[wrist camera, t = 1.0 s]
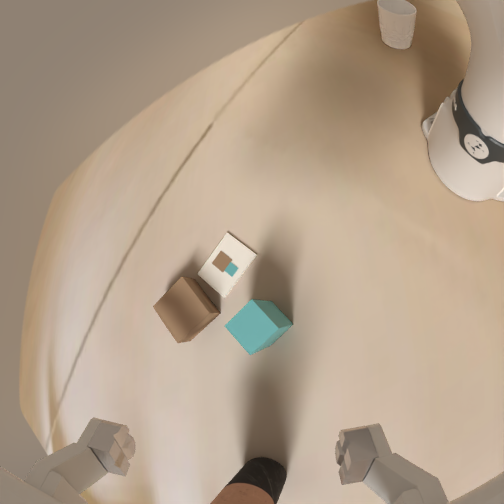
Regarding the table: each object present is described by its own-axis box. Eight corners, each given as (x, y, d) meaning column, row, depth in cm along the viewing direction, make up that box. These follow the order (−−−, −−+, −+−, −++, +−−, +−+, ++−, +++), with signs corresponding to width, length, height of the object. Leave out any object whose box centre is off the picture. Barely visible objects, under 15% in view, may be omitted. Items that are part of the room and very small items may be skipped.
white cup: (396, 55, 41) (397, 18, 32) (371, 36, 43) (368, 0, 34) (421, 46, 39) (424, 11, 30) (396, 28, 42) (396, -6, 33)
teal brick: (271, 301, 40) (251, 299, 32) (293, 324, 39) (278, 328, 30) (249, 322, 41) (224, 325, 32) (270, 345, 39) (250, 355, 31)
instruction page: (228, 232, 44) (226, 232, 44) (257, 255, 42) (256, 254, 42) (198, 274, 45) (196, 273, 44) (225, 298, 43) (224, 298, 42)
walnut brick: (195, 279, 45) (181, 276, 41) (221, 312, 43) (209, 313, 39) (167, 307, 46) (152, 306, 42) (191, 340, 43) (177, 343, 40)
